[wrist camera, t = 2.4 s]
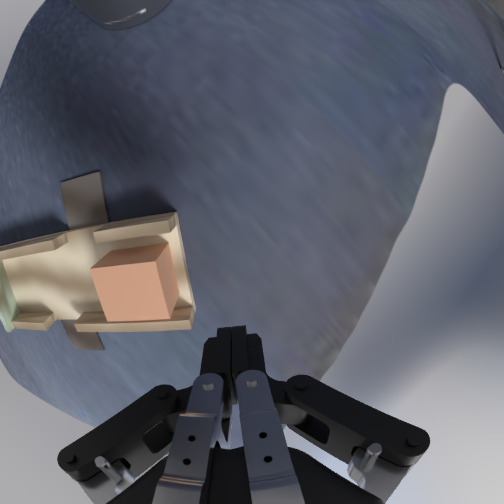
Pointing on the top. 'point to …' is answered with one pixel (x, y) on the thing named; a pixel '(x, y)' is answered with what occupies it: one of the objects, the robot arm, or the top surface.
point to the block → (136, 283)
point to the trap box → (84, 269)
